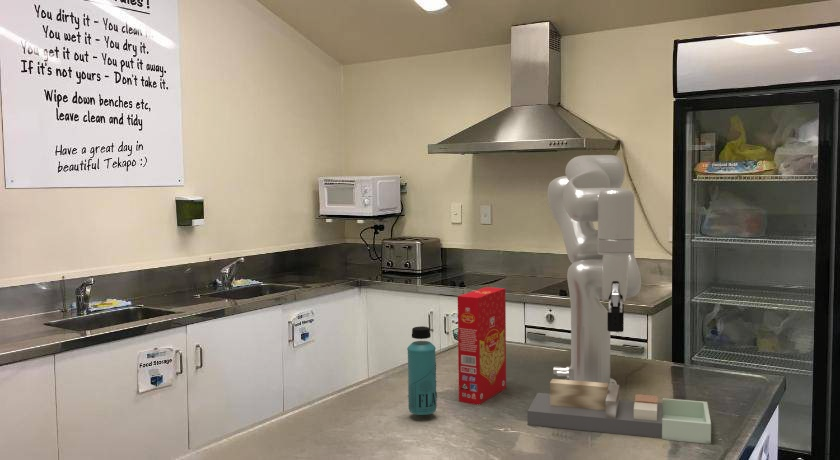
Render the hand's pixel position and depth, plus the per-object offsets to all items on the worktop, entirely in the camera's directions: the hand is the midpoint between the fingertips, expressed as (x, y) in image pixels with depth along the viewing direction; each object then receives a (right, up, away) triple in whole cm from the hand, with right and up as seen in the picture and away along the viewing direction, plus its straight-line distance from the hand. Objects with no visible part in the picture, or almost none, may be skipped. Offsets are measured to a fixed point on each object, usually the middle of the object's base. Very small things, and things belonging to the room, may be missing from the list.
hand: (615, 326), depth 152 cm
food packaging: (-27, -19, +19) cm, 38 cm away
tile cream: (+4, -18, -6) cm, 19 cm away
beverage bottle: (-41, -21, +4) cm, 47 cm away
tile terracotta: (+6, -17, -1) cm, 18 cm away
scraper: (-6, -17, +1) cm, 18 cm away
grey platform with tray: (0, -20, -1) cm, 20 cm away
